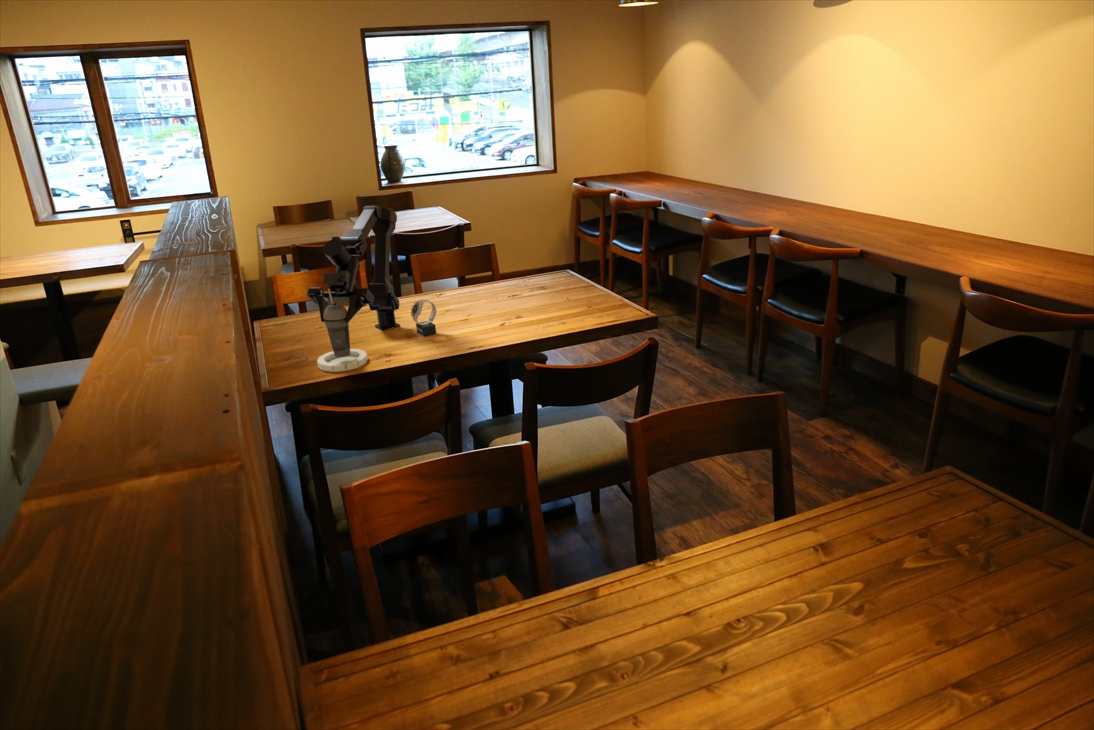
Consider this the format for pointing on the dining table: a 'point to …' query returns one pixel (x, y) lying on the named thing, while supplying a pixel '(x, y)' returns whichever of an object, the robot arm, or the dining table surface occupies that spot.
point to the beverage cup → (337, 328)
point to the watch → (427, 326)
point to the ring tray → (342, 361)
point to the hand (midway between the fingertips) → (334, 321)
